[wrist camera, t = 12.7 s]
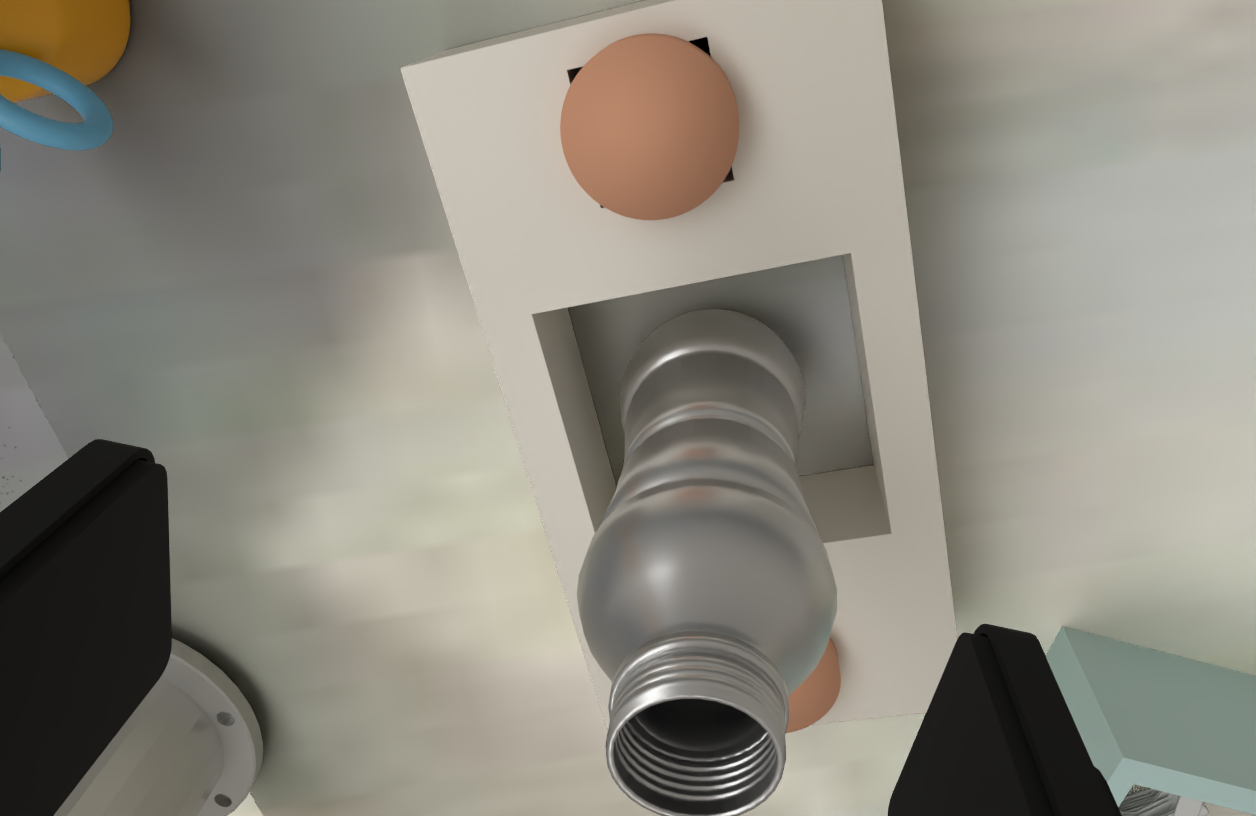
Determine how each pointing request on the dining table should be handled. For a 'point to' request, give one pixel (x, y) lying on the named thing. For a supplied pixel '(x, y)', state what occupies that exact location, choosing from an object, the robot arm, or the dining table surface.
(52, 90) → the orange post blue wheels
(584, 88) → the brown egg
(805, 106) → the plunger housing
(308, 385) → the dining table surface
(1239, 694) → the right angle wall
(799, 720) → the chicken egg
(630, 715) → the gray metal bottle
